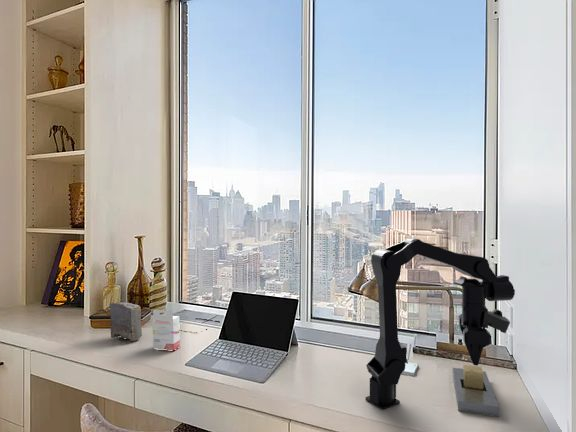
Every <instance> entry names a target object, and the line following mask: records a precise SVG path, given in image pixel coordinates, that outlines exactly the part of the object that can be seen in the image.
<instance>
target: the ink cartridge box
mask: <svg viewBox="0 0 576 432" xmlns="http://www.w3.org/2000/svg"><path fill="white" fill-rule="evenodd" d="M180 324H181V323H180V315H174V311H173V310H167V309H153V311H152V349H153V348H158V349H167V350H175V349H177V348H178V347H180V348H181V331H180ZM178 349H179V348H178ZM178 349H177V350H178ZM175 351H176V350H175Z"/></svg>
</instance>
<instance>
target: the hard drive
mask: <svg viewBox="0 0 576 432" xmlns="http://www.w3.org/2000/svg"><path fill="white" fill-rule="evenodd" d="M407 362H408V364H407V363H405V370H404V371H403V372H402V373H401V375H406V376H411V377H415V375H416V373H417V371H418V369H419V363H414V362H409V361H407Z"/></svg>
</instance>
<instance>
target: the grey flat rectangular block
mask: <svg viewBox="0 0 576 432" xmlns="http://www.w3.org/2000/svg"><path fill="white" fill-rule="evenodd" d="M482 371H483V391H480V390H472V389H465V388H463V368H458V367H452V380H453V387H454V393H455V398H456V406H457V410H458V412H462V413H463V412H464V413H471V414H477V415H483V416H489V417H496V418H499V417H500V413H499V412H500V409H499V407H500V406H499V404H498V401H497V399H496V396H495V393H494V390H493V388H492V384H491V382H490V380H489V376H488V374H487V371H484V370H482Z"/></svg>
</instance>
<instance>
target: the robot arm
mask: <svg viewBox="0 0 576 432" xmlns="http://www.w3.org/2000/svg"><path fill="white" fill-rule="evenodd" d="M415 256H421V257H424V258H426V259H429V260H433V261H435V262H439V263H442V264H444V265H447V266H449V267H451V268H452V269H453V270H454V271H457V272H458V273H460V274H462V275H464V276H462V275H461V276H460V277H459V278H458V279H457V280H455V281H454V285H455V286H459V287H462V288H461V292H462V293H461V295H462V296H461V303H460V304H461V313H460V314H459V315H458V324H459V329H460V331H461V333H462V336H463V338H462V339H463V343H464V344H465V346H466V347H465V348H466V350H467V352H468V354H469V355H468V356H469V357H470V360H471V363H472V366H479V362H480V359H481V356H482V353H483V350H484V348H486V347H487V346H490V344H492V334H491V333H490V331H489V330H488V329H489V327H491V328H492V329H495V330H497V331H499V332H501V333H503V334H507V330H508V329H509V326H510V325H511V322H510V320H509V319H508V318H507V317H506V316H503V312H502V311H501V310H499V309H497V308H495V309H493V310H492V311H491V310H489V309H488V308H487V306H486V300H487V301H489V302H499V301H500V302H501V301H503V302H504V301H511V300H513V299H514V297H515V294H516V291H515V289H514V285H513V283H512V282H511V281H510V276H509V275H504V274H503V275H502V274H501V275H497V276H496V275H495V272H494V271H493V269H492V268H491V267H490V262H489V260H488V259H487V258H485V257H483V256H477V255H473V254H466V253H459V252H454V251H452V250H449V249H445V248H443V247H440V246H436V245H434V244H431V243H427V242H425V241H422V240H421V239H419V238H413V237H412V238H411V237H408V238H406V239H404V240H402V241H401V242H398V243H395V244H393V245H391V246H388V247H387V248H379V249H377V250H375V251H374V253H372V254H371V257H370V262H371V268H372V271H373V274H374V277H375V280H376V283H377V294H378V296H377V297H378V319H379V320H378V321H379V324H378V325H379V338H378V341H377V343H376V345H375V351H374V352H375V353H374V356H373V357H372V358H371V359H370V360H369V361H368V363H367V364H366V369H367V372H368V373H369V374H370V375H371V377H369V395H368V396H366V397H365V400H366V401H368V402H369V403H371V404H372V405H374V406H375V407H378V408H379V409H381V410H385V409H389V408H391V407H394V406H396V405H399V404H400V402H401V401H400V400H399V399H397V385H398V384H399V380H400V378H401V376H402V374H401V373H402V372H403V371H404V370H405V363H407V364H408V362H409V361H408V359H407V354H408V351H407V350H408V349H407V348H408V347H406V346H405V345H404V344H402V343H401V342H400V341H399V331H398V329H399V328H398V327H399V326H398V307H397V306H398V303H397V299H398V298H397V283H398V281H399V279H400V276H401V271H402V266H404V265H406V264H407V263H409V262H411V260H412V259H413V258H414V257H415ZM466 276H467V277H468V276H469V277H471V278H467V277H466ZM480 280H481V281H480Z"/></svg>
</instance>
